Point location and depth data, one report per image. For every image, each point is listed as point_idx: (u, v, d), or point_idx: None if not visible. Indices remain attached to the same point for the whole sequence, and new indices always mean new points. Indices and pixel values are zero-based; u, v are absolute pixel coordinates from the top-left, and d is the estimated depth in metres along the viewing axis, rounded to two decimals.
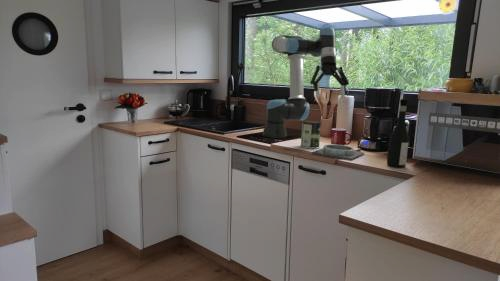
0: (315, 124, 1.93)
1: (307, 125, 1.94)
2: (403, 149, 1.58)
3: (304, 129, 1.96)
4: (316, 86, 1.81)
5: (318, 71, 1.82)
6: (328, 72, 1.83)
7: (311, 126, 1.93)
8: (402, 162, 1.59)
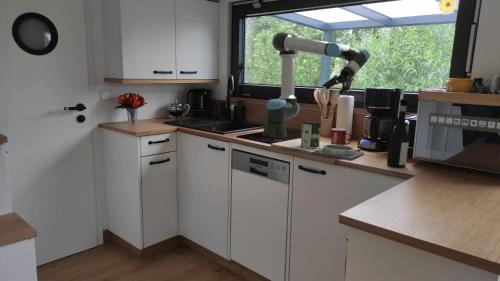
0: (315, 124, 1.93)
1: (307, 125, 1.94)
2: (403, 149, 1.58)
3: (304, 129, 1.96)
4: None
5: None
6: None
7: (311, 126, 1.93)
8: (402, 162, 1.59)
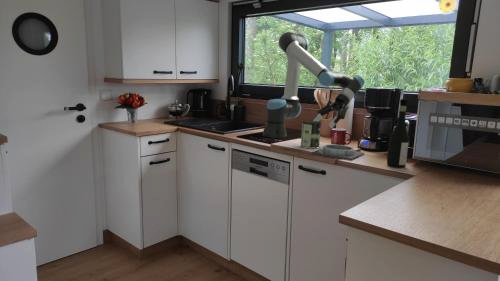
0: (315, 124, 1.93)
1: (307, 125, 1.94)
2: (403, 149, 1.58)
3: (304, 129, 1.96)
4: None
5: None
6: None
7: (311, 126, 1.93)
8: (402, 162, 1.59)
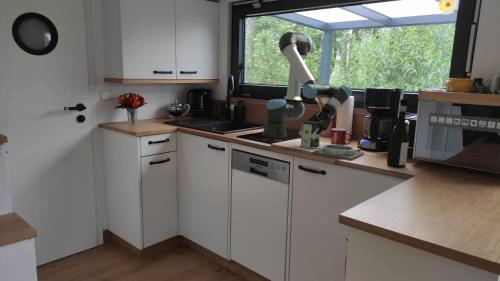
0: (315, 124, 1.93)
1: (307, 125, 1.94)
2: (403, 149, 1.58)
3: (304, 129, 1.96)
4: None
5: None
6: None
7: (311, 126, 1.93)
8: (402, 162, 1.59)
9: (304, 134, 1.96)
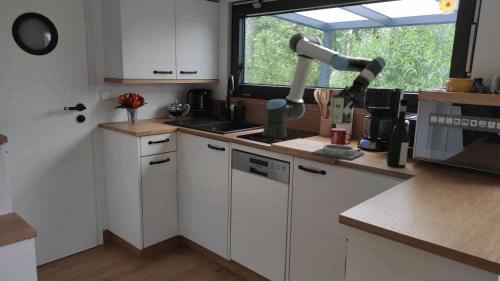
0: (347, 97, 1.75)
1: (339, 99, 1.76)
2: (403, 149, 1.58)
3: (335, 103, 1.78)
4: None
5: None
6: None
7: (343, 99, 1.75)
8: (402, 162, 1.59)
9: (335, 109, 1.78)
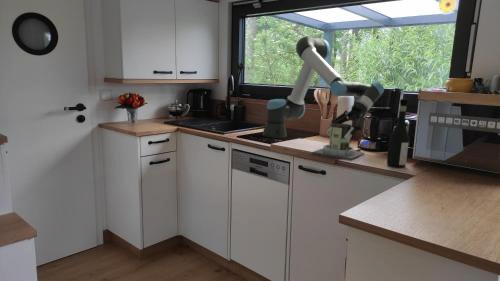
0: (345, 127, 1.77)
1: (337, 128, 1.78)
2: (403, 149, 1.58)
3: (333, 133, 1.80)
4: None
5: None
6: None
7: (341, 129, 1.77)
8: (402, 162, 1.59)
9: (333, 138, 1.80)
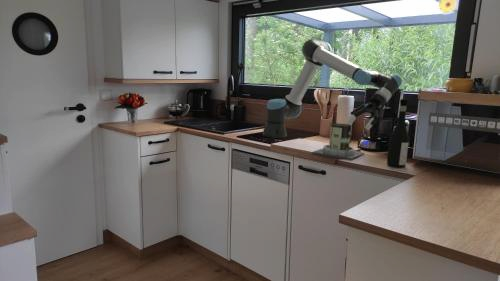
0: (345, 127, 1.77)
1: (337, 128, 1.78)
2: (403, 149, 1.58)
3: (333, 133, 1.80)
4: None
5: None
6: None
7: (341, 129, 1.77)
8: (402, 162, 1.59)
9: (333, 138, 1.80)
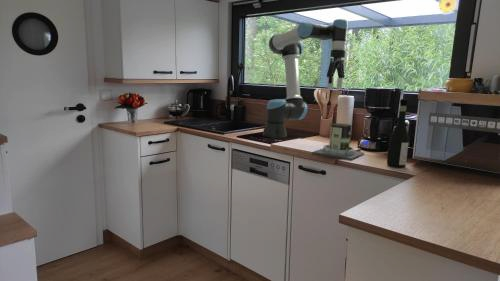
0: (345, 127, 1.77)
1: (337, 128, 1.78)
2: (403, 149, 1.58)
3: (333, 133, 1.80)
4: (331, 79, 1.90)
5: (334, 64, 1.90)
6: (338, 65, 1.94)
7: (341, 129, 1.77)
8: (402, 162, 1.59)
9: (333, 138, 1.80)
